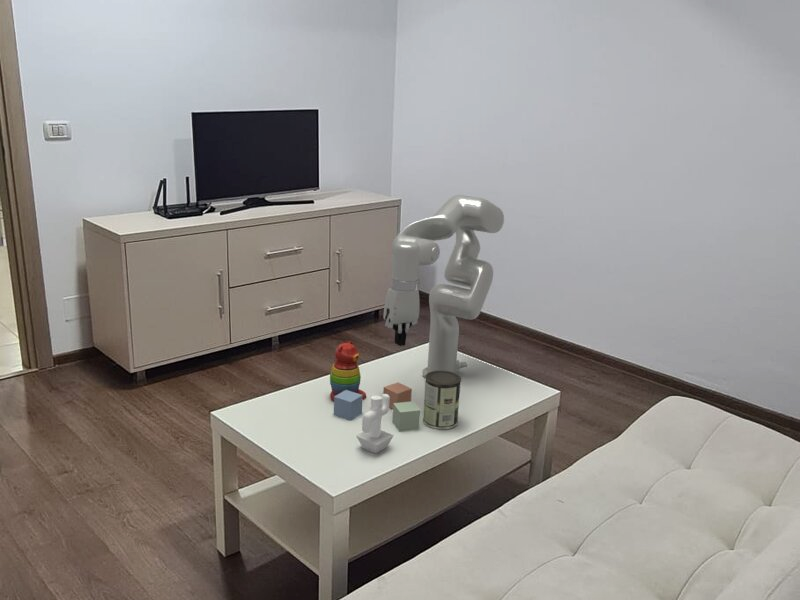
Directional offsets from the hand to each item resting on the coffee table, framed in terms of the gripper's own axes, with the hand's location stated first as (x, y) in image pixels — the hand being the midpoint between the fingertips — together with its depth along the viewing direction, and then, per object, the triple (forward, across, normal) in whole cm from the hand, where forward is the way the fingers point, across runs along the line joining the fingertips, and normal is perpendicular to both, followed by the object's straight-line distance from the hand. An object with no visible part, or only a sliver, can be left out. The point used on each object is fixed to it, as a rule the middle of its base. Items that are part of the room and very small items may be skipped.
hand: (399, 344), depth 219 cm
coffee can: (+20, -6, +14) cm, 26 cm away
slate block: (+20, +15, -2) cm, 26 cm away
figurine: (+21, +19, +18) cm, 34 cm away
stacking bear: (+20, +10, -12) cm, 26 cm away
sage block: (+20, +4, +12) cm, 24 cm away
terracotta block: (+20, -1, 0) cm, 20 cm away
